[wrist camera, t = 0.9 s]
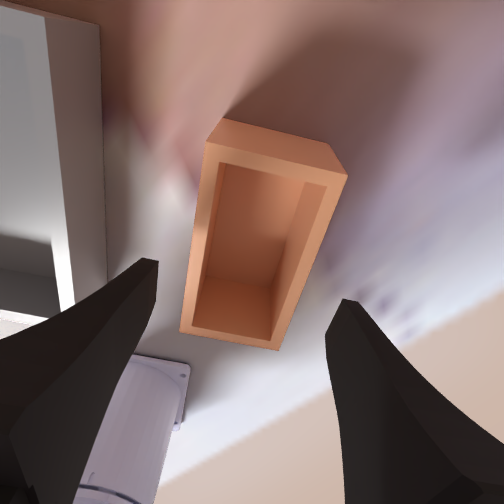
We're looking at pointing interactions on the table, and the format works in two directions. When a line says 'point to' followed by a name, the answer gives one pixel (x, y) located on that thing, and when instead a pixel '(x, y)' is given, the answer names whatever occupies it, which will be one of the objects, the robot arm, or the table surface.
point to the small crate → (256, 231)
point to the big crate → (49, 164)
